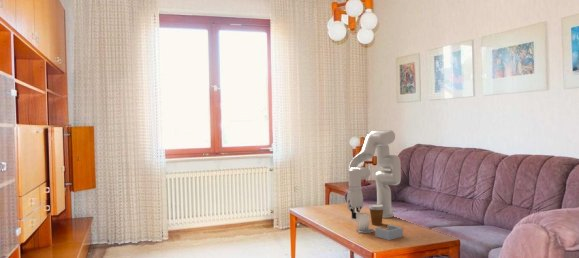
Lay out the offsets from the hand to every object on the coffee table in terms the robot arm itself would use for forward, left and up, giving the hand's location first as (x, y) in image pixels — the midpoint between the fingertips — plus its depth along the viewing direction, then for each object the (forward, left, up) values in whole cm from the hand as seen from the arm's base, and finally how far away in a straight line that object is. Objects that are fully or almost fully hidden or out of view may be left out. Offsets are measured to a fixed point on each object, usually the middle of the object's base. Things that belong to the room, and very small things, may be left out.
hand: (355, 218), depth 269 cm
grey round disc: (0, +8, -7) cm, 11 cm away
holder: (-2, +24, -7) cm, 25 cm away
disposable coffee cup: (-18, 0, -7) cm, 19 cm away
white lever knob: (0, +3, -5) cm, 6 cm away
